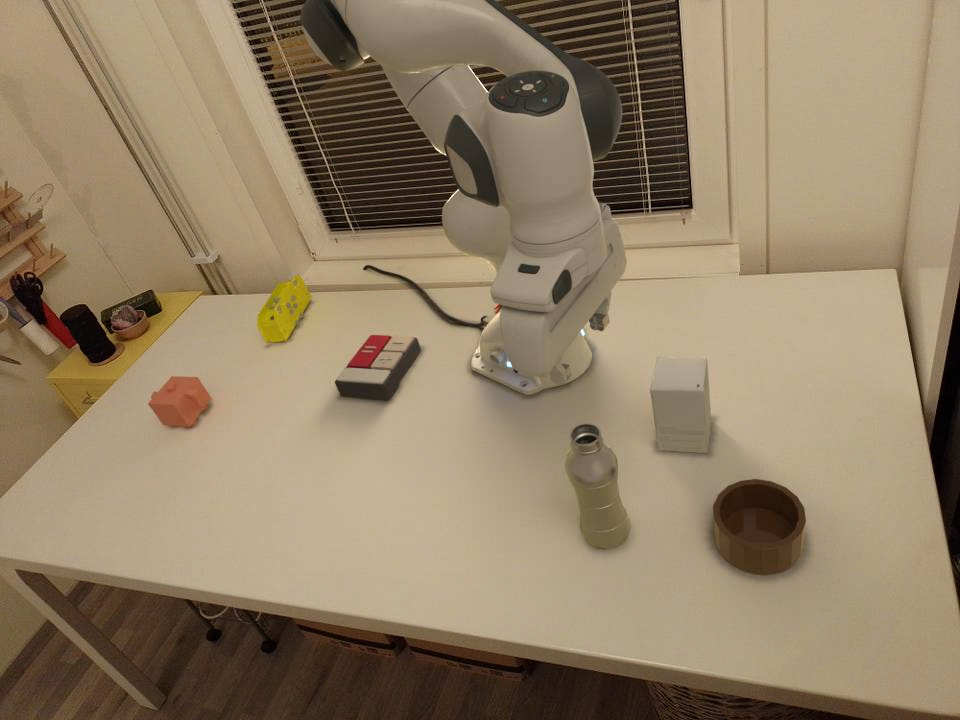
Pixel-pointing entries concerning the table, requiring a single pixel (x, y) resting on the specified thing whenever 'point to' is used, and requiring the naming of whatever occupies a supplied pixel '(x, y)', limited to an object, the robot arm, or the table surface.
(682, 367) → the white packaging box
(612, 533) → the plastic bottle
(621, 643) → the table surface
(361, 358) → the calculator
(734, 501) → the cup
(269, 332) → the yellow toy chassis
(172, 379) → the pink studded cube
